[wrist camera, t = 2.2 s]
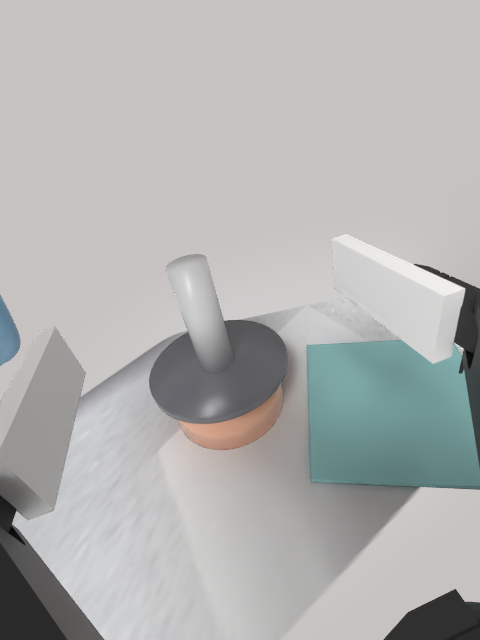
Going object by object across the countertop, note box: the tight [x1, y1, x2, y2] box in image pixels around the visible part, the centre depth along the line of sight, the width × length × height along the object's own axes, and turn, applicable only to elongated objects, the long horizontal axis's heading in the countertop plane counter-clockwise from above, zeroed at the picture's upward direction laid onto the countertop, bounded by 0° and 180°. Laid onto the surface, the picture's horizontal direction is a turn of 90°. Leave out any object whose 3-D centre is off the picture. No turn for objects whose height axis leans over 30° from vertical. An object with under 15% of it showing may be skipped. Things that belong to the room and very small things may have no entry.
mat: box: [307, 340, 480, 489], centre depth 29 cm, size 15×16×1 cm
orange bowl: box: [178, 385, 283, 450], centre depth 31 cm, size 11×11×5 cm
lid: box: [149, 254, 287, 424], centre depth 27 cm, size 13×13×11 cm
